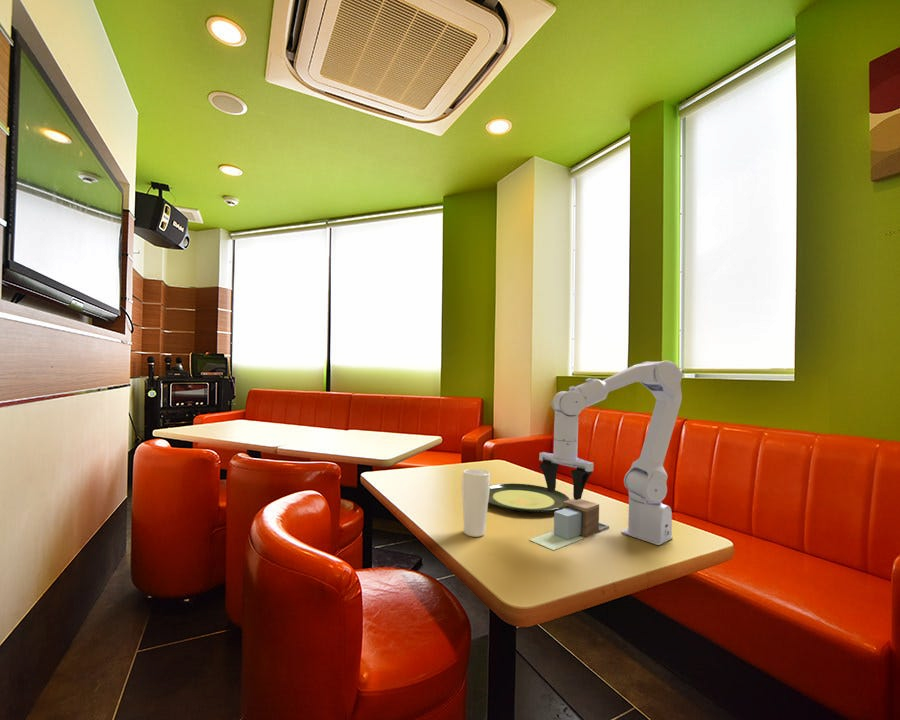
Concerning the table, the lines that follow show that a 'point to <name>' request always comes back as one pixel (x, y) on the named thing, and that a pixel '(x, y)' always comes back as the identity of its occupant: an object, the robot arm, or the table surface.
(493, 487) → the plate
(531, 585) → the table surface
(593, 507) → the tunnel
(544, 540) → the pad
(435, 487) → the table surface
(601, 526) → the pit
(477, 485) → the drinking glass
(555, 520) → the pale grey rectangular block
